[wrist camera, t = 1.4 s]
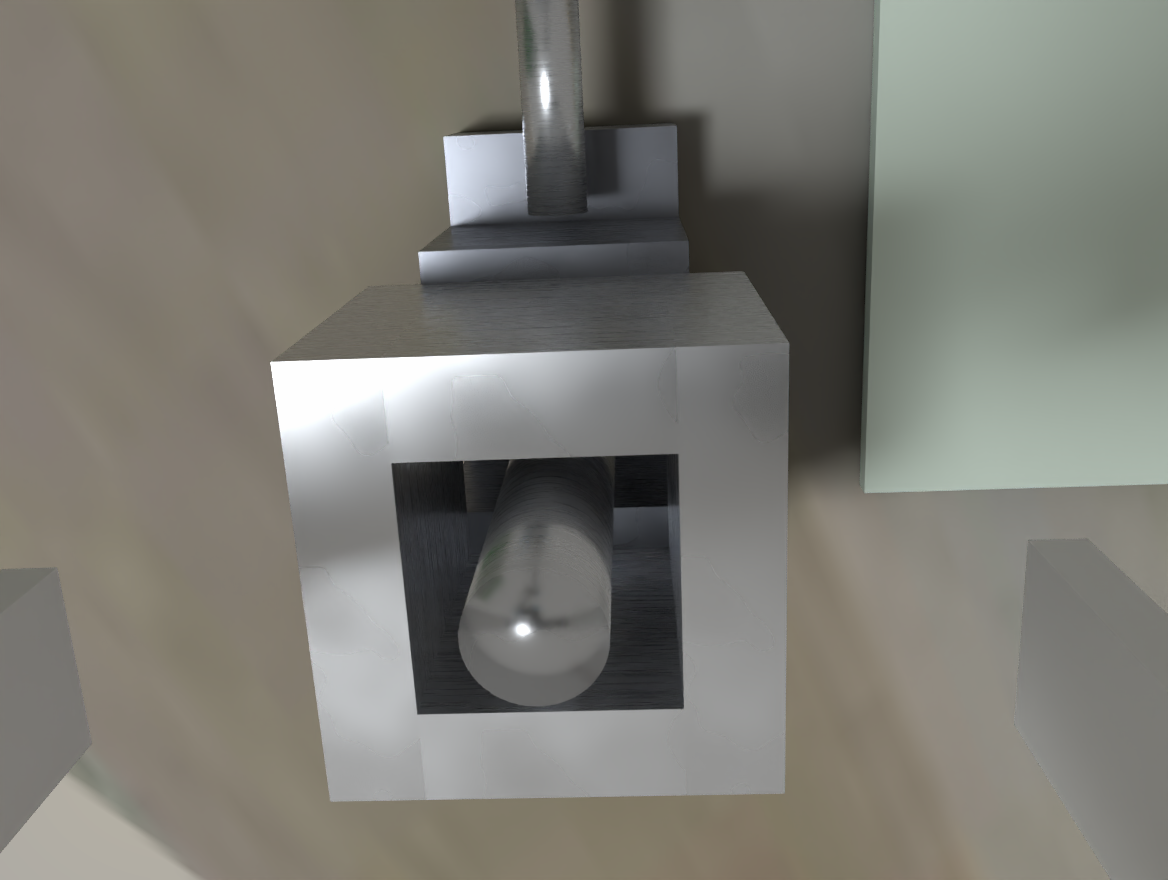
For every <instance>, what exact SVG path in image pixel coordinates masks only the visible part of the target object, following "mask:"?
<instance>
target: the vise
mask: <svg viewBox="0 0 1168 880" xmlns="http://www.w3.org/2000/svg"><path fill="white" fill-rule="evenodd" d="M515 8H516V24H517V41H518V57H519V74H520V90H521V107H522V123H523V130H508V131H487V132H466V133H455V134H451V135H448V136H444V149H445V161H446V173H447V185H448V198H449V210H450V222H451V226H450V227H449V228H448V229H447V230H445V231H444V232H443V233H442V234H440V235H439V236H438V237H437V238H435V239H434V240H433V241H432V242H430V243H429V244H428V245H427V246H425V247H424V248H423V249H422V250H420V251H419V252H418V253H419V264H420V275H421V284H438V283H463V282H488V281H513V280H538V279H562V278H587V277H612V276H637V275H662V274H687V273H689V240H688V238H687V235H686V233H685V230H684V228H683V226H682V223H681V221H680V218H679V205H678V155H677V125H675V124H674V123H658V124H636V125H615V126H594V127H584V115H583V93H582V71H581V48H580V26H579V3H578V0H515ZM463 470H464V482H465V494H466V506H467V517H468V529H469V541H470V553H471V554H480V557H479V561H478V564H477V567H476V570H475V573H474V577H473V580H472V583H471V586H470V590H469V593H468V596H467V599H466V602H465V606H464V609H463V612H462V615H461V619H460V623H459V629H458V643H459V649H460V653H461V656H462V659H463V661H464V663H465V665H466V667H467V669H468V671H469V672H470V674H471V675H472V676H473V677H474V679H475V680H476V681H477V682H478V683H479V684H480V685H481V686H482V687H483V688H485V689H486V690H487V691H489V692H490V693H492V694H493V695H495V696H497V697H499V698H501V699H503V700H506V701H508V702H511V703H515V704H518V705H524V706H549V705H554V704H559V703H562V702H565V701H567V700H570V699H572V698H574V697H576V696H577V695H579V694H581V693H582V692H584V691H585V690H586V689H587V688H588V687H590V686H591V685H592V683H593V682H594V681H595V680H596V679H597V678H598V676H599V675H600V673H601V672H602V670H603V668H604V666H605V664H606V661H607V658H608V654H609V649H610V625H611V590H612V555H613V550H630V549H665V548H669V528H668V488H667V454H654V455H624V456H593V457H562V458H531V459H500V460H470V461H464V464H463Z"/></svg>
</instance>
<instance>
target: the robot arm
mask: <svg viewBox="0 0 1168 880" xmlns="http://www.w3.org/2000/svg"><path fill="white" fill-rule="evenodd" d="M1014 725H1015V727H1016V729H1017V730H1018V732H1019V733H1020V735H1021V737H1022V738H1023V740H1024V741H1025V743H1026V745H1027V746H1028V748H1029V749H1030V751H1031V753H1032V754H1033V756H1034V757H1035V759H1036V761H1037V762H1038V764H1039V765H1040V767H1041V769H1042V770H1043V772H1044V773H1045V775H1046V777H1047V778H1048V780H1049V781H1050V783H1051V785H1052V786H1053V788H1054V789H1055V791H1056V793H1057V794H1058V796H1059V797H1060V799H1061V801H1062V802H1063V804H1064V805H1065V807H1066V809H1067V810H1068V812H1069V813H1070V815H1071V817H1072V818H1073V820H1074V822H1075V823H1076V825H1077V826H1078V828H1079V830H1080V831H1081V833H1082V834H1083V836H1084V838H1085V839H1086V841H1087V842H1088V844H1089V846H1090V847H1091V849H1092V850H1093V852H1094V854H1095V855H1096V857H1097V858H1098V860H1099V862H1100V863H1101V865H1102V866H1103V868H1104V870H1105V871H1106V873H1107V874H1108V876H1109V878H1110V879H1111V880H1168V614H1167V613H1166V612H1165V611H1163V610H1162V609H1161V608H1160V607H1159V606H1158V605H1157V604H1156V603H1155V602H1154V601H1153V600H1152V599H1151V598H1150V597H1149V596H1148V595H1147V594H1145V593H1144V592H1143V591H1142V590H1141V589H1140V588H1139V587H1138V586H1137V585H1136V584H1135V583H1134V582H1133V581H1132V580H1131V579H1130V578H1129V577H1127V576H1126V575H1125V574H1124V573H1123V572H1122V571H1121V570H1120V569H1119V568H1118V567H1117V566H1116V565H1115V564H1114V563H1113V562H1112V561H1111V560H1109V559H1108V558H1107V557H1106V556H1105V555H1104V554H1103V553H1102V552H1101V551H1100V550H1099V549H1098V548H1097V547H1096V546H1095V545H1094V544H1093V543H1091V542H1090V541H1089V540H1088V539H1087V538H1085V539H1050V540H1028V546H1027V559H1026V572H1025V586H1024V599H1023V612H1022V625H1021V639H1020V652H1019V665H1018V678H1017V692H1016V705H1015V718H1014ZM91 744H92V740H91V735H90V730H89V725H88V720H87V715H86V710H85V705H84V700H83V695H82V690H81V685H80V680H79V675H78V670H77V665H76V660H75V655H74V650H73V645H72V640H71V635H70V630H69V625H68V620H67V615H66V610H65V605H64V600H63V595H62V590H61V584H60V579H59V574H58V569H57V568H23V569H2V570H1V571H0V853H1V852H2V850H3V849H4V848H5V847H6V846H7V844H8V843H9V842H10V841H11V840H12V838H13V837H14V836H15V835H16V834H17V832H18V831H19V830H20V829H21V828H22V827H23V825H24V824H25V823H26V822H27V820H28V819H29V818H30V817H31V816H32V814H33V813H34V812H35V811H36V810H37V809H38V807H39V806H40V805H41V804H42V803H43V801H44V800H45V799H46V798H47V797H48V795H49V794H50V793H51V792H52V791H53V789H54V788H55V787H56V786H57V785H58V783H59V782H60V781H61V780H62V779H63V777H64V776H65V775H66V774H67V773H68V771H69V770H70V769H71V768H72V767H73V765H74V764H75V763H76V762H77V761H78V759H79V758H80V757H81V756H82V755H83V753H84V752H85V751H86V750H87V749H88V748H89V746H90V745H91Z"/></svg>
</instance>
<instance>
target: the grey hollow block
mask: <svg viewBox="0 0 1168 880" xmlns="http://www.w3.org/2000/svg"><path fill="white" fill-rule="evenodd" d="M271 367H272V374H273V382H274V389H275V397H276V404H277V411H278V419H279V426H280V434H281V441H282V448H283V456H284V463H285V470H286V478H287V485H288V493H289V500H290V507H291V515H292V522H293V529H294V537H295V544H296V552H297V559H298V566H299V574H300V581H301V588H302V596H303V603H304V611H305V618H306V625H307V633H308V640H309V647H310V655H311V662H312V670H313V677H314V684H315V692H316V699H317V707H318V714H319V721H320V729H321V736H322V743H323V751H324V758H325V766H326V773H327V780H328V788H329V795H330V801H384V800H440V799H497V798H554V797H611V796H667V795H724V794H781V793H785V721H786V622H787V523H788V424H789V342H788V340H787V339H786V337H785V335H784V334H783V332H782V331H781V329H780V328H779V326H778V324H777V323H776V321H775V320H774V318H773V317H772V315H771V313H770V312H769V310H768V309H767V307H766V306H765V304H764V302H763V301H762V299H761V298H760V296H759V295H758V293H757V291H756V290H755V288H754V287H753V285H752V284H751V282H750V280H749V279H748V277H747V276H746V274H745V273H744V271H736V272H711V273H687V274H662V275H637V276H612V277H587V278H562V279H538V280H513V281H488V282H463V283H438V284H414V285H389V286H368V287H367V288H366V289H364V290H363V291H362V292H361V293H359V294H358V295H357V296H355V297H354V298H353V299H352V300H350V301H349V302H348V303H346V304H345V305H344V306H343V307H341V308H340V309H339V310H337V311H336V312H335V313H334V314H332V315H331V316H330V317H328V318H327V319H326V320H325V321H323V322H322V323H321V324H319V325H318V326H317V327H316V328H314V329H313V330H312V331H310V332H309V333H308V334H307V335H305V336H304V337H303V338H301V339H300V340H299V341H298V342H296V343H295V344H294V345H292V346H291V347H290V348H289V349H287V350H286V351H285V352H283V353H282V354H281V355H280V356H278V357H277V358H276V359H274V360H273V361H272V362H271ZM654 454H667V488H668V528H669V548H665V549H630V550H613V555H612V590H611V625H610V649H609V654H608V658H607V661H606V664H605V666H604V668H603V670H602V672H601V673H600V675H599V676H598V678H597V679H596V680H595V681H594V682H593V683H592V685H591V686H590V687H588V688H587V689H586V690H585V691H584V692H582V693H581V694H579V695H577V696H576V697H574V698H572V699H570V700H567V701H565V702H562V703H559V704H554V705H549V706H524V705H518V704H515V703H511V702H508V701H506V700H503V699H501V698H499V697H497V696H495V695H493V694H492V693H490V692H489V691H487V690H486V689H485V688H483V687H482V686H481V685H480V684H479V683H478V682H477V681H476V680H475V679H474V677H473V676H472V675H471V674H470V672H469V671H468V669H467V667H466V665H465V663H464V661H463V659H462V656H461V653H460V649H459V643H458V629H459V623H460V619H461V615H462V612H463V609H464V606H465V602H466V599H467V596H468V593H469V590H470V586H471V583H472V580H473V577H474V573H475V570H476V567H477V564H478V561H479V557H480V554H471V553H470V541H469V529H468V517H467V506H466V494H465V482H464V470H463V461H470V460H500V459H531V458H562V457H593V456H624V455H654Z"/></svg>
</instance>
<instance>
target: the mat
mask: <svg viewBox="0 0 1168 880" xmlns="http://www.w3.org/2000/svg"><path fill="white" fill-rule="evenodd" d="M1147 484H1168V0H875V3H874V35H873V67H872V100H871V132H870V164H869V196H868V229H867V261H866V293H865V326H864V358H863V390H862V423H861V455H860V486H861V488H862V490H863V491H864V493H885V492H917V491H950V490H983V489H1016V488H1048V487H1081V486H1114V485H1147Z"/></svg>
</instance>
